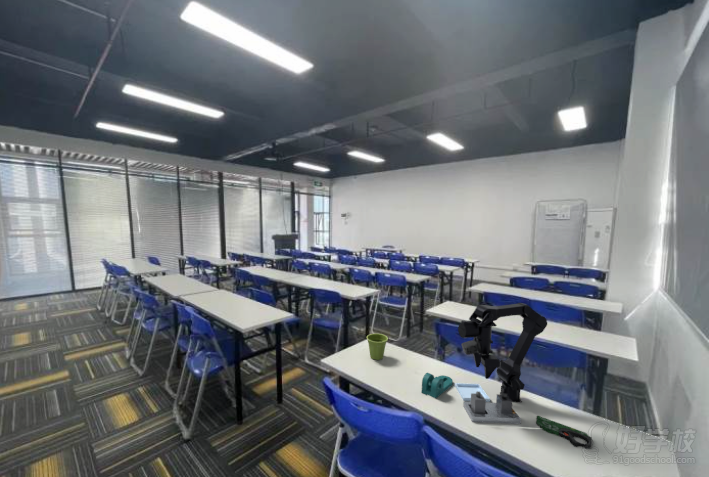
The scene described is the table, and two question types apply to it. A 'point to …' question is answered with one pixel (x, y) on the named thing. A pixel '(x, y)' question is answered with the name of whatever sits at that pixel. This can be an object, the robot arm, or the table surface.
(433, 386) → the bracket
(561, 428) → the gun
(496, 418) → the grey socket base
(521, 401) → the robot arm
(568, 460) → the table surface
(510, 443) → the table surface
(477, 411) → the plug
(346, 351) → the table surface
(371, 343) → the plant pot
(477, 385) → the tray
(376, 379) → the table surface
